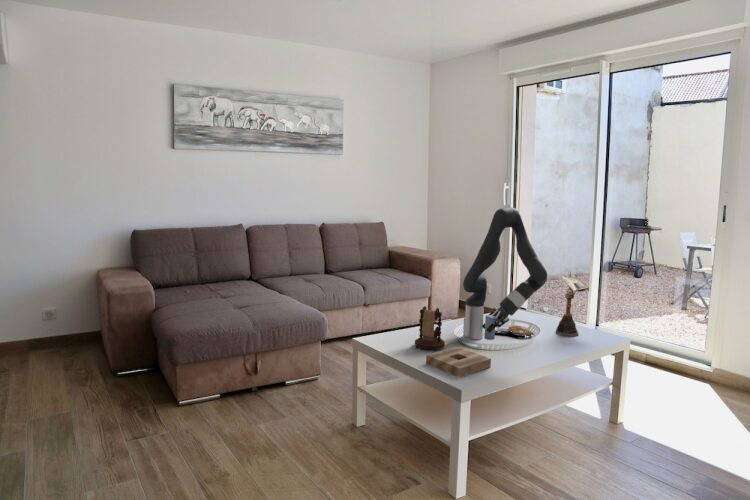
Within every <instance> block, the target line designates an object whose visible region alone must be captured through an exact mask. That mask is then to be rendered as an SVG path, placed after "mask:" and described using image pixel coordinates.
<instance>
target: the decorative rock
mask: <svg viewBox="0 0 750 500" xmlns="http://www.w3.org/2000/svg"><path fill="white" fill-rule="evenodd" d="M507 330H509V331H512V332H515V333H520V334H519V335H522V334H525V335H526V336H531V337H532V335H534V333H533V332H532V331H531V330H529V329H526V328H523V327H522V326H520V325H510V326H509V327H508V328H507ZM509 331H508V332H509Z"/></svg>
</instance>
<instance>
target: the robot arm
mask: <svg viewBox="0 0 750 500" xmlns="http://www.w3.org/2000/svg"><path fill="white" fill-rule="evenodd" d="M507 228H510V229H512V231H513V232H514V235H515V239H516V240H515V241H516V243H515V244H516V245H515V246H516V252H517V255H518V257H519V258H520V260H521V263H522V264H523V265H524V267H525V268H526V269H527V271H528V273H529V277H527V279H526V280H525V281H523V282H521V283H519V284H518V285H517V286H516V287H515V288H514V289H513V290H512V291H511V292H510V293H508V295H506V297H504V298H503V299H502V300H501V302H500V303H499V307H498V308H497V309H496V308H495V307H494V308H493V309H492V310H491V311H490V313H489V314H488V315H492V316H495V320H494V322H493V323H492V324H491V325H490V326H489V327H488V328H487V329H486V330H487V331H488V332H489V333H490V332H491V331H492V330H493V329H494V328H495V329H496V328H501V327H502V326H504V325H505V324H506V323H508V322H509V321H510V318H509V316H514V315H515V313H516V312H517V311H519V309H521V307H523V306H524V304H525V303H526V302H527V300H529V298H531V297H532V295H533V294H534V293H536V292H537V291H538V290H540V289H541V288H542V287H543V286H544V285H545V284H546V283H547V281H548V272H547V270H546V268H545V266H544V265H543V263H542V262H541V261H540V259H539V257H538V255H537V252H536V251H535V249H534V247H533V245H532V244H531V242H530V240H529V236H528V233H527V230H526V228H525V225H524V222H523V220H522V216H521V213H520V212H519V211H518V209H517V208H516V207H504V208H503V207H502V208H499V209H497V210H495V212H494V214H493V217H492V220H491V223H490V225H489V227H488V231H487V233H486V235H485V239H484V241H483V242H482V244H481V246H480V249H479V250H478V252H477V254H476V258H475V259H474V260H473V263H472V265H471V267H470V268H469V270H468V272H466V275H465V277H464V279H463V281H462V284H463V285H462V288H463V290H464V291H465V293H466V292H467V293H471V294H472V293H473V294H472V295H471V296H469V297H467V298H466V300H465V317H463V326H462V327H463V331H462V336H463V337H465V338H466V339H469V340H481V339H483V338H484V337H483V333H484V330H485V322H484V316H485V315H484V313H485V312H484V311H485V302H486V297H487V288H488V285H487V283H488V282H487V277H486V276H485V275H484V274H483V273H484V272H485V271H487V269H489V268H490V267H492V265H493V264H494V263H495V262H496V260H497V258H498V257H499V255H500V253H501V242H500V240H501V239H500V238H501V235H502V233H503V232H504V230H505V229H507Z"/></svg>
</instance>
